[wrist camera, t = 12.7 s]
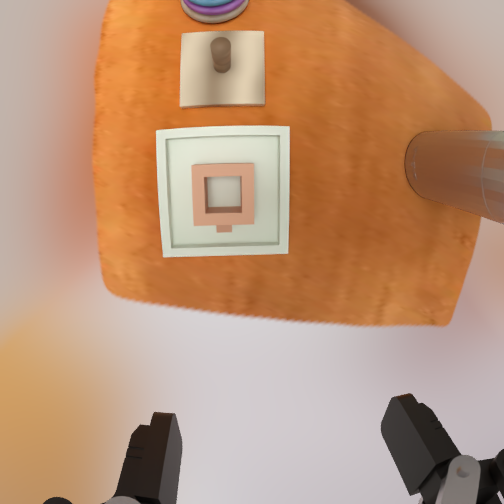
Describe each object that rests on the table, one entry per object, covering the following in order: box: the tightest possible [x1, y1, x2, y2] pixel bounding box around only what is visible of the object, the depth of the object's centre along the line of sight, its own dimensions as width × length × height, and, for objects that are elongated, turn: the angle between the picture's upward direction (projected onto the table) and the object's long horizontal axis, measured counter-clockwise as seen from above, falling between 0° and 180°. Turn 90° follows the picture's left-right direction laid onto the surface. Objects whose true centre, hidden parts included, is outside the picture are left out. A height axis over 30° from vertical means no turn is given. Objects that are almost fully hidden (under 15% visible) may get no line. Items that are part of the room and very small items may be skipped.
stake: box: [180, 31, 265, 109], centre depth 25 cm, size 9×9×8 cm
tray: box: [156, 126, 290, 257], centre depth 33 cm, size 14×14×2 cm
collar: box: [191, 163, 254, 233], centre depth 31 cm, size 6×7×4 cm
